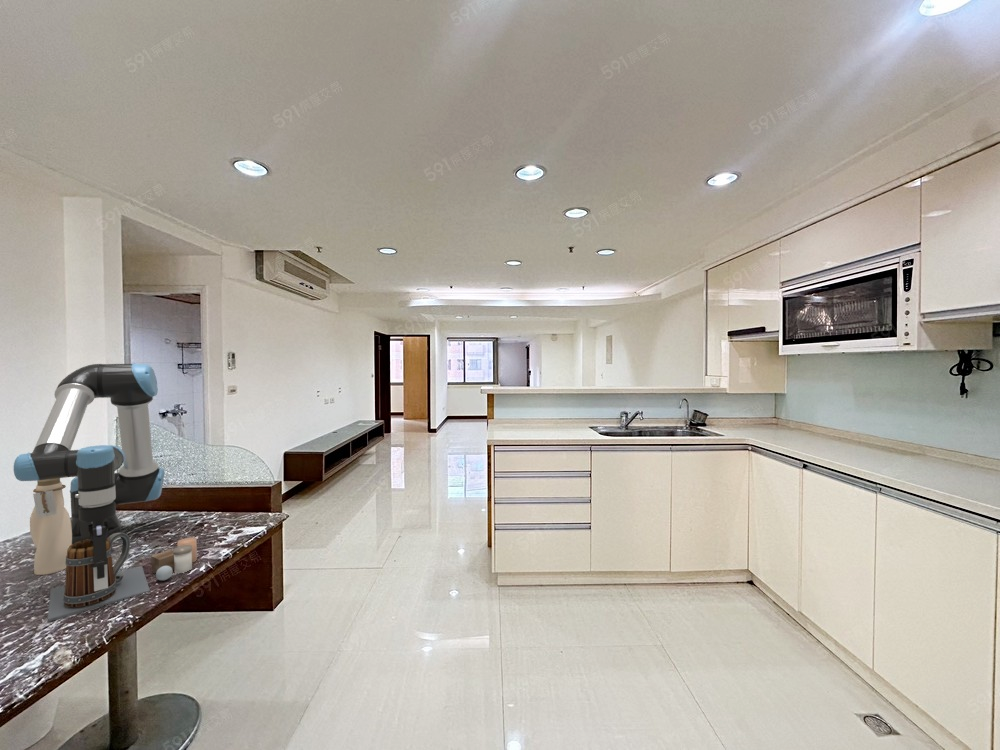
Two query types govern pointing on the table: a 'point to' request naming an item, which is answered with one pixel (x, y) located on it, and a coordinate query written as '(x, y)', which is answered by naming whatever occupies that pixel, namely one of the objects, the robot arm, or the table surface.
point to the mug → (91, 572)
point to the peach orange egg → (193, 543)
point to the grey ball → (164, 573)
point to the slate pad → (126, 588)
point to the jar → (182, 558)
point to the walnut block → (162, 560)
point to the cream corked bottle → (50, 527)
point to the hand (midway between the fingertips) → (100, 579)
